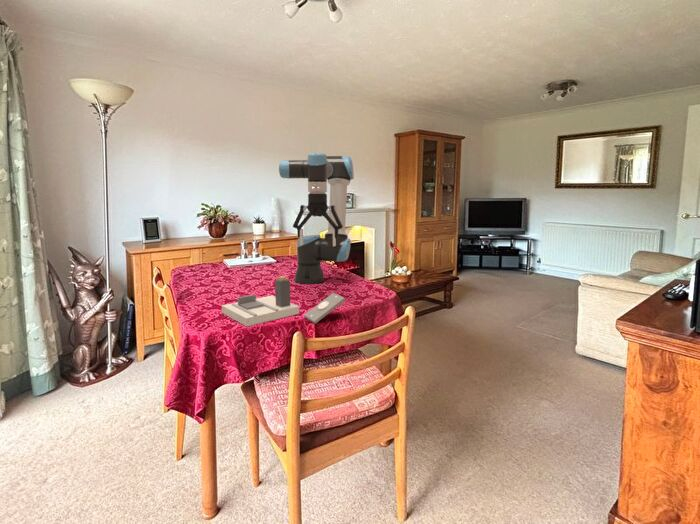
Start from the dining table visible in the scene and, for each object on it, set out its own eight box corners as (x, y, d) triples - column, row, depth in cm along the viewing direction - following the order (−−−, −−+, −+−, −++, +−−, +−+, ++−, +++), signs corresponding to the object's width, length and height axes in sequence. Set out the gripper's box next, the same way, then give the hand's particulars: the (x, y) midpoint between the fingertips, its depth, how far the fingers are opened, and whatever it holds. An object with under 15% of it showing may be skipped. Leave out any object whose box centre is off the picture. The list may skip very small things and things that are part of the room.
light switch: (302, 313, 150) (332, 290, 156) (309, 325, 153) (338, 302, 158) (312, 319, 143) (343, 295, 149) (320, 332, 146) (350, 308, 151)
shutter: (237, 305, 155) (237, 297, 154) (254, 302, 159) (254, 294, 158) (246, 309, 149) (246, 301, 149) (263, 306, 154) (263, 298, 153)
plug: (275, 305, 156) (274, 276, 154) (284, 303, 158) (283, 275, 156) (281, 307, 153) (280, 278, 151) (290, 305, 155) (289, 277, 153)
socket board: (222, 312, 156) (221, 303, 155) (272, 302, 170) (271, 294, 169) (246, 326, 141) (246, 316, 140) (299, 313, 155) (299, 304, 154)
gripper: (284, 192, 160) (285, 246, 164) (346, 193, 157) (346, 247, 161) (289, 192, 167) (291, 243, 171) (349, 193, 164) (349, 245, 168)
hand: (317, 245), depth 166 cm, fingers open, 13 cm apart
